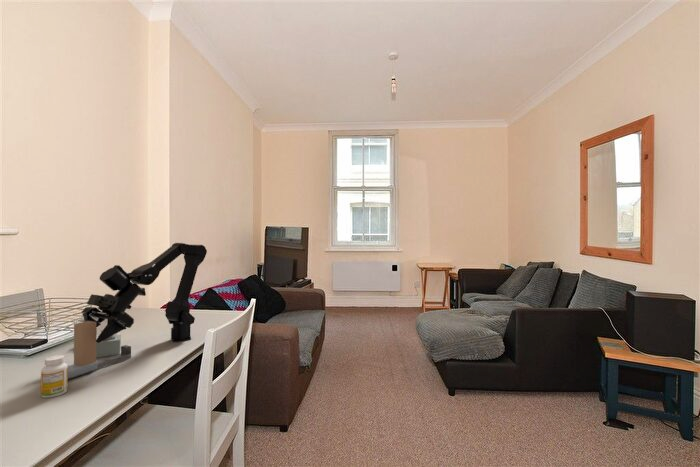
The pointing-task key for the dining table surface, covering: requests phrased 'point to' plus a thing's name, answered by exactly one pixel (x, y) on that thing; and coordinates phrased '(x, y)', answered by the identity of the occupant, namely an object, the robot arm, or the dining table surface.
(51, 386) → the supplement bottle
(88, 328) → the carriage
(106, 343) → the gauge cabinet
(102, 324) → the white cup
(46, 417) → the dining table surface
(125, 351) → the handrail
